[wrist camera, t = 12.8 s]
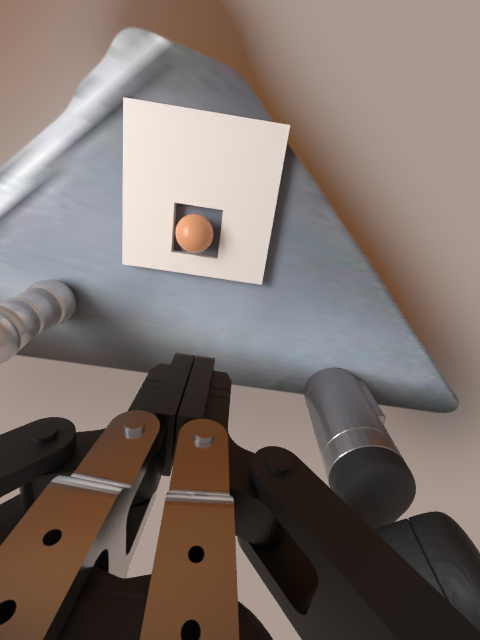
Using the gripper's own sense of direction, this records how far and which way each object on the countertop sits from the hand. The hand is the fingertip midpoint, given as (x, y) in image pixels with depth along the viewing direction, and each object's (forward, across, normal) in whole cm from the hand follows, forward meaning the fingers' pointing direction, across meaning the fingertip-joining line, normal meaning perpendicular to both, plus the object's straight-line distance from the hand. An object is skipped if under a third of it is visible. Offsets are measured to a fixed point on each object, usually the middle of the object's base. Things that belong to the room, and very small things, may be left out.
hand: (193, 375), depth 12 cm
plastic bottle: (+35, +25, +12) cm, 45 cm away
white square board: (+35, +5, -5) cm, 36 cm away
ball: (+32, +5, -1) cm, 33 cm away
